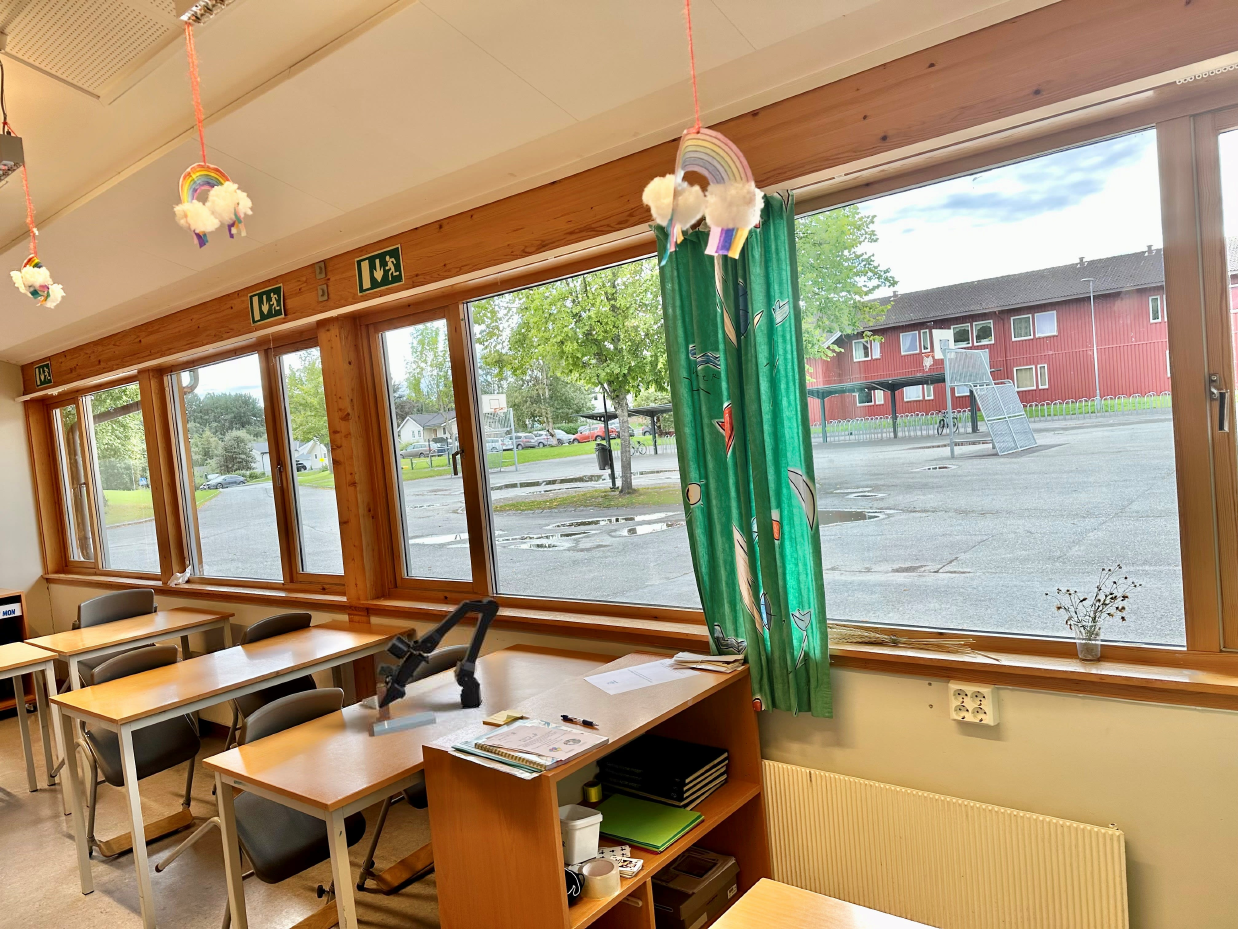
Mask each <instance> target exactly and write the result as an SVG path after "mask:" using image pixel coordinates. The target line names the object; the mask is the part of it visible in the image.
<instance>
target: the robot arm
mask: <svg viewBox="0 0 1238 929" xmlns="http://www.w3.org/2000/svg"><path fill="white" fill-rule="evenodd" d="M499 611H500V604H499V602H498V601H497V600H496V599H494V598H493V597H488V596H487V597H485V598H483V599H474V600H473V599H472V600H467V599H466V600H465V599H464V600H462V601H461V602H460V603H459V605H458V606H456V607H455V608H454V609H453V610H452V611H451V612H450V613H449V614H448V615H447V616H446V617H445V618H444V619H443V620H442V621H440V623H439V624H437V625H436V626H435V627H434V628H432V629H430V630H428V631H426V632H425V633H424V634H422V635H421V636H419V638H418V639H414V640H410V641H408V640H406V639H405V638H403V637H402V636H401V635H400V634H397V635H396V637H394V638H393V639H392V640H390V641H389V643H388V644H387V646H386V647H385V652H386V653H388V654H389V655H391V656H392V657H393V658H395V659H396V660H402V662H401V663H398V664H397V665H395V666H394V665H392V664H388V663H385V662H380V663H379V665H378V668H377V675H379V676H383V677H384V680H383V681H384V682H383V683H386V684H387V687H386V694H385V696H384V698H383V699H382V701H381V703H380V705H379V708H383V707H385V706H386V705H388V704H390V703H392V702H394V701H395V700H397V699H400V698H401V699H403V698H404V696H405V695H406V692H405V687H406V685H407V684H408V682H409V681H410V679H413V677H414V676H415V675H414V674H415V673H416V672H417V671H418V669H419V668H420V667H421V665H422V664H423V663H425V664H426V665H429V664H430V656H429V655H430V654H432V653H434V651H435V649H436V648H438V646H439V645H440V643H441V641H442V640H443V638H444V637H445V636H446V635H447V633H448V632H450V631H451V630H452V629H453V628H454V627H455V626H456V625H457V624H458V623H459V622H460V621H461V620H462V619H463V618H464V617H466V616H467V614H470V613H473V614H478V621H477V623H476V625H475V626H476V627H475V629H474V632H473V634H472V637H471V639H470V643H469V645H468V648H467V650H466V653H465V656H464V658H463V659H462V661H457V662H456V667H455V669H454V670H453V674H454V678H455V682H456V683H457V685H458V686H459V687H461V693H460V694H459V696H460V697H459V698H460V705H461V709H462V710H463V709H465V710H466V709H473V708H480V707H481V706H480V705H482V704H481V703H483V702H484V700H483V699H482V693H481V692H482V690H481V683H480V682H479V680H478V679H477V677H476V676H475V672H476V662H477V660H478V658H479V653H480V651H481V648H482V646H483V643H484V640H485V637H486V635H487V632H488V629H489V627H490V625H491V623H493V621H494V620H495V618H496V616H497V614H498V613H499ZM482 701H483V702H482ZM479 706H480V707H479Z"/></svg>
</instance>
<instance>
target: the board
mask: <svg viewBox="0 0 1238 929" xmlns="http://www.w3.org/2000/svg"><path fill="white" fill-rule="evenodd" d="M435 724H437V718H436V715H435V713H434V710H431V711H427V712H426V711H425V712H422V713H417V714H411V715H406V716H403V717H397V718H395V719H392V720H387V721H382V722H378V723H376V722H375V723H372V725H373V732H374V737H377V736H378V737H379V736H381V735H387V734H392V733H397V732H401V731H406V730H410V729H416V728H419V727H420V728H421V727H425V726H429V725H435Z"/></svg>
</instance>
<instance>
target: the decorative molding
mask: <svg viewBox="0 0 1238 929" xmlns="http://www.w3.org/2000/svg"><path fill="white" fill-rule="evenodd" d="M454 675H455V673H454V670H450V671H446V672H443V673H438V674H436V675H433V676H430V677H427V678H424V679H422V680H418V681H415V682H412V683H409V684H406V687H405V692H406V695H405V696H404V698H403V699H401V698H400V699H397V700H395V701H394V702H396V703H398V702H397V701H399V702H401V700H402V701H404V699H405V700H407V699H406V698H408V699H410V698H409V697H411V698H413V697H416V696H419V695H422V694H425V693H427V692H431V691H433V690H436V689H439V688H442V687H445V686H447V685H450V684H454V683H455V682H456V680H455V677H454ZM365 702H366V703H365ZM394 702H392V703H393V704H395V703H394ZM362 703H364V704H363V705H364V706H366V705H367V706H366V707H371V708H373V709H375V708H376V709H375V710H378V709H377V708H378V699H377V694H376V695H373V696H370V697H367V698H364V699H362ZM392 703H390V704H391V705H393V704H392Z"/></svg>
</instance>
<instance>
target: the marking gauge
mask: <svg viewBox="0 0 1238 929" xmlns="http://www.w3.org/2000/svg"><path fill="white" fill-rule="evenodd" d="M386 687H387V684H386V683H385V682H381V683H377V685H376V686H375V689H376V695H377V699H378V708H379V705H380V703H381V701H382V699H383V698H384V696H385V694H386ZM390 710H391V709H390V705H389V704H388V705H386V706H385V707H383V708H379V709H378V716H377V717H375V723H378V722H382V721H387V720H392V719H396V718H395V715H394V713H391V711H390Z"/></svg>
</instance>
